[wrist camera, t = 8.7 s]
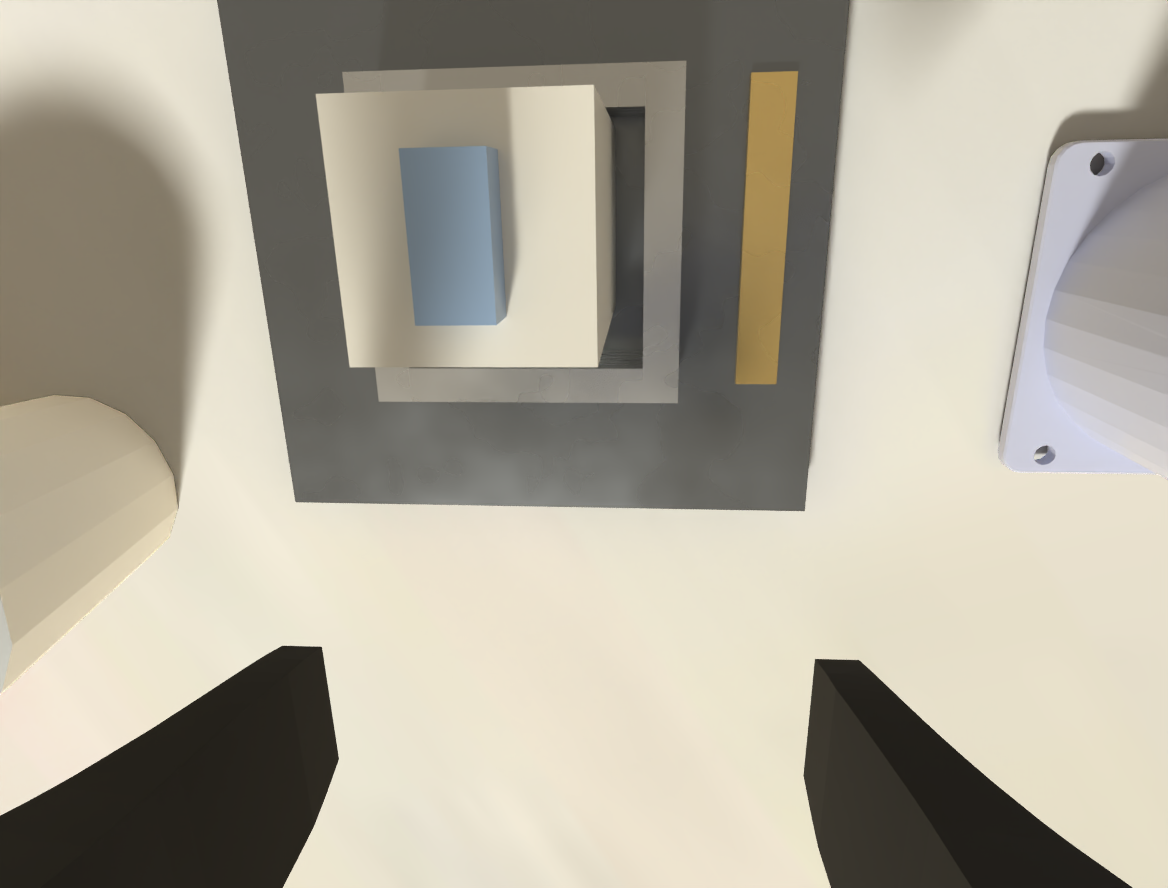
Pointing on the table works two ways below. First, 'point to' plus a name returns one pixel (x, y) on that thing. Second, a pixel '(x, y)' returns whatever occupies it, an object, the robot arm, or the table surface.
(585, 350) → the plug
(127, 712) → the table surface
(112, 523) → the white cylinder
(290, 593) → the table surface
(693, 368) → the panel
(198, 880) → the robot arm
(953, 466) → the table surface
